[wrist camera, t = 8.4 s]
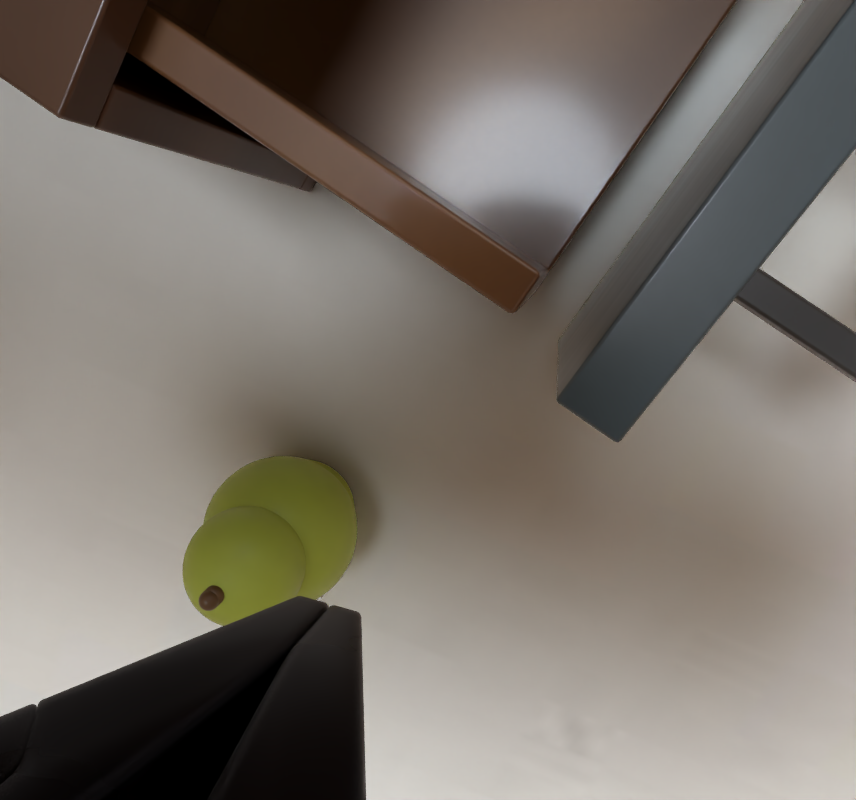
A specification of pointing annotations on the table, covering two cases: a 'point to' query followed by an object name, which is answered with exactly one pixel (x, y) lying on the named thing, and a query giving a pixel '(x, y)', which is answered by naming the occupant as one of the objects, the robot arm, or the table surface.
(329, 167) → the drawer
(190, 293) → the table surface
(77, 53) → the cabinet
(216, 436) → the table surface
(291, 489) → the pear
